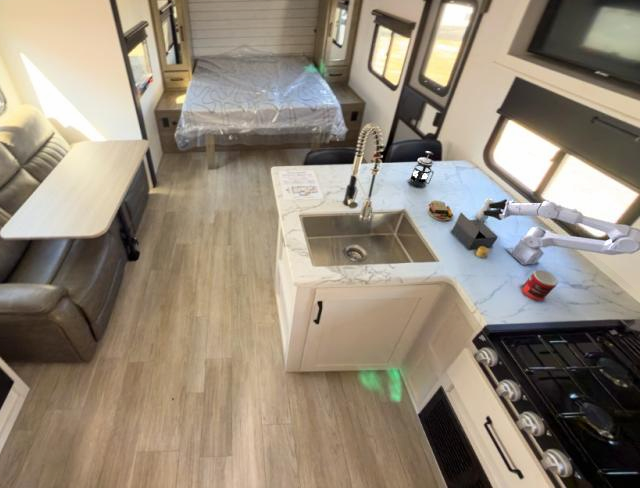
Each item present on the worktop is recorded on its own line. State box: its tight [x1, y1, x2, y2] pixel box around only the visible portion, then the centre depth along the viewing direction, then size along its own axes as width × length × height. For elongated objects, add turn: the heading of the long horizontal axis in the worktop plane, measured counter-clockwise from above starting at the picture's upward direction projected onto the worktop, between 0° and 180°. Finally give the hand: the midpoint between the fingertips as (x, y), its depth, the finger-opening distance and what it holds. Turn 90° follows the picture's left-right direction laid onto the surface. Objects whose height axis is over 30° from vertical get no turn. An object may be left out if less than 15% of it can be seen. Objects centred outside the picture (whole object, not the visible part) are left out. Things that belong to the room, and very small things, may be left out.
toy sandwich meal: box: [427, 200, 454, 222], centre depth 178 cm, size 12×14×5 cm
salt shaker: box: [475, 198, 496, 222], centre depth 172 cm, size 6×6×13 cm
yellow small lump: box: [475, 246, 490, 259], centre depth 154 cm, size 4×4×4 cm
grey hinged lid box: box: [451, 218, 498, 250], centre depth 162 cm, size 13×13×7 cm
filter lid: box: [455, 212, 480, 239], centre depth 157 cm, size 13×6×1 cm
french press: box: [408, 150, 435, 189], centre depth 197 cm, size 12×9×23 cm
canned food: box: [521, 269, 559, 302], centre depth 134 cm, size 8×8×11 cm
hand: (486, 209), depth 158 cm, fingers open, 7 cm apart
